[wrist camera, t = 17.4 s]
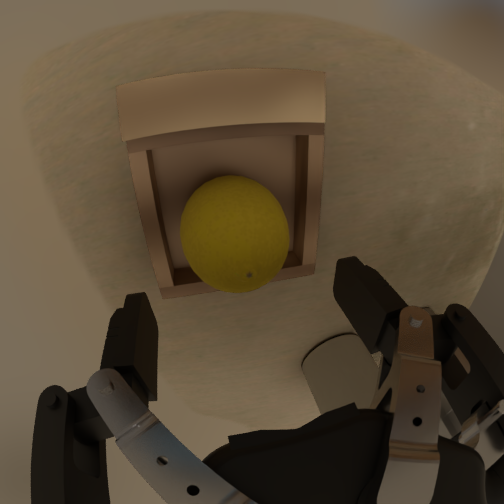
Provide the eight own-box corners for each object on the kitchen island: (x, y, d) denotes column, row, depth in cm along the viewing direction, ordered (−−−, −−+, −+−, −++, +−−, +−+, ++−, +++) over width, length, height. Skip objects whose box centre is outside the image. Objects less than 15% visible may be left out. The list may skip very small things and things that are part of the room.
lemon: (263, 236, 20) (304, 314, 13) (185, 243, 18) (188, 330, 12) (266, 159, 17) (322, 207, 10) (178, 164, 16) (169, 218, 9)
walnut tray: (299, 252, 22) (314, 274, 20) (164, 274, 21) (162, 299, 18) (304, 114, 16) (324, 118, 14) (135, 130, 15) (125, 136, 12)
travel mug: (326, 329, 27) (405, 478, 12) (371, 334, 30) (443, 451, 16) (288, 373, 30) (340, 506, 15) (335, 373, 34) (388, 483, 19)
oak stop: (288, 114, 15) (325, 122, 11) (141, 129, 14) (122, 141, 10) (287, 77, 14) (325, 72, 10) (137, 90, 13) (115, 85, 8)
